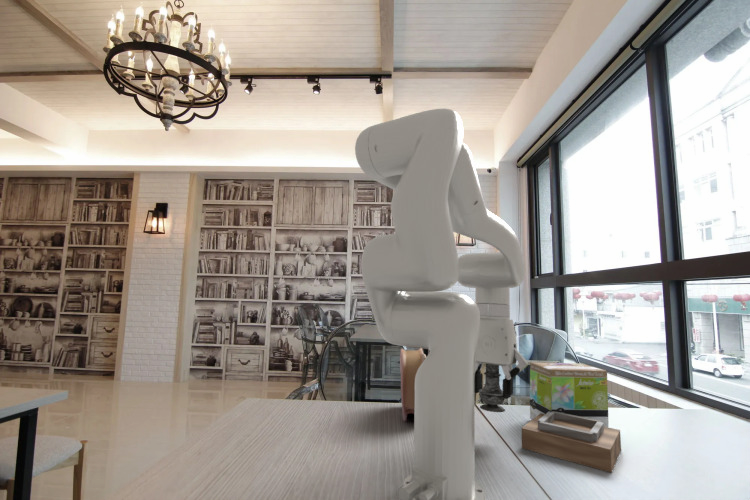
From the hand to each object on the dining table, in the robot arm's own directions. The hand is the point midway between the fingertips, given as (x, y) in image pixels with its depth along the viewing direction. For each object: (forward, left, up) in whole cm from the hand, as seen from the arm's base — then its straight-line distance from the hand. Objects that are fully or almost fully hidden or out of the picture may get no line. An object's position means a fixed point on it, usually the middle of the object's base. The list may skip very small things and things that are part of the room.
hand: (492, 394), depth 82 cm
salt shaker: (0, 0, -3) cm, 3 cm away
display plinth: (+8, -14, -10) cm, 19 cm away
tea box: (+24, -10, -10) cm, 28 cm away
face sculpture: (+3, +23, -10) cm, 25 cm away
